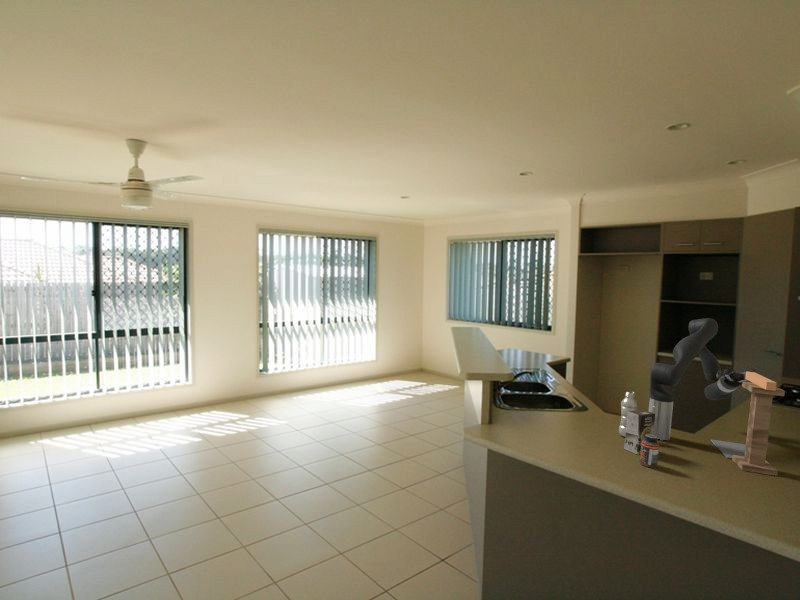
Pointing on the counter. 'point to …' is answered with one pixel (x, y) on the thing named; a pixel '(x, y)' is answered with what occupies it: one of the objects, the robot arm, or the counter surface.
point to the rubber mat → (730, 448)
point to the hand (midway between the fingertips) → (742, 370)
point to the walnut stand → (758, 430)
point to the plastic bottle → (626, 410)
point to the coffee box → (638, 429)
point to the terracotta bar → (761, 381)
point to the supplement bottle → (649, 451)
